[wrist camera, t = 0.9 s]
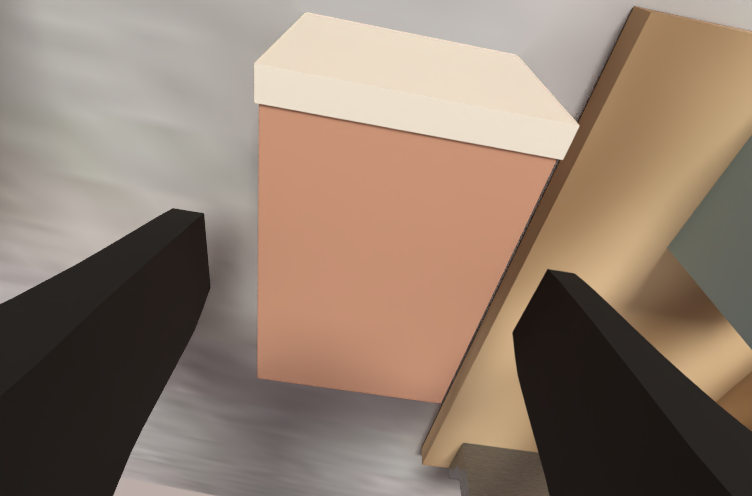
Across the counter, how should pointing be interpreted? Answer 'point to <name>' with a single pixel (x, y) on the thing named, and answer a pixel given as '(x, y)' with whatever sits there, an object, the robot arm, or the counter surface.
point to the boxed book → (390, 200)
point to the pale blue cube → (723, 244)
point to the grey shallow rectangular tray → (498, 471)
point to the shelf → (624, 225)
